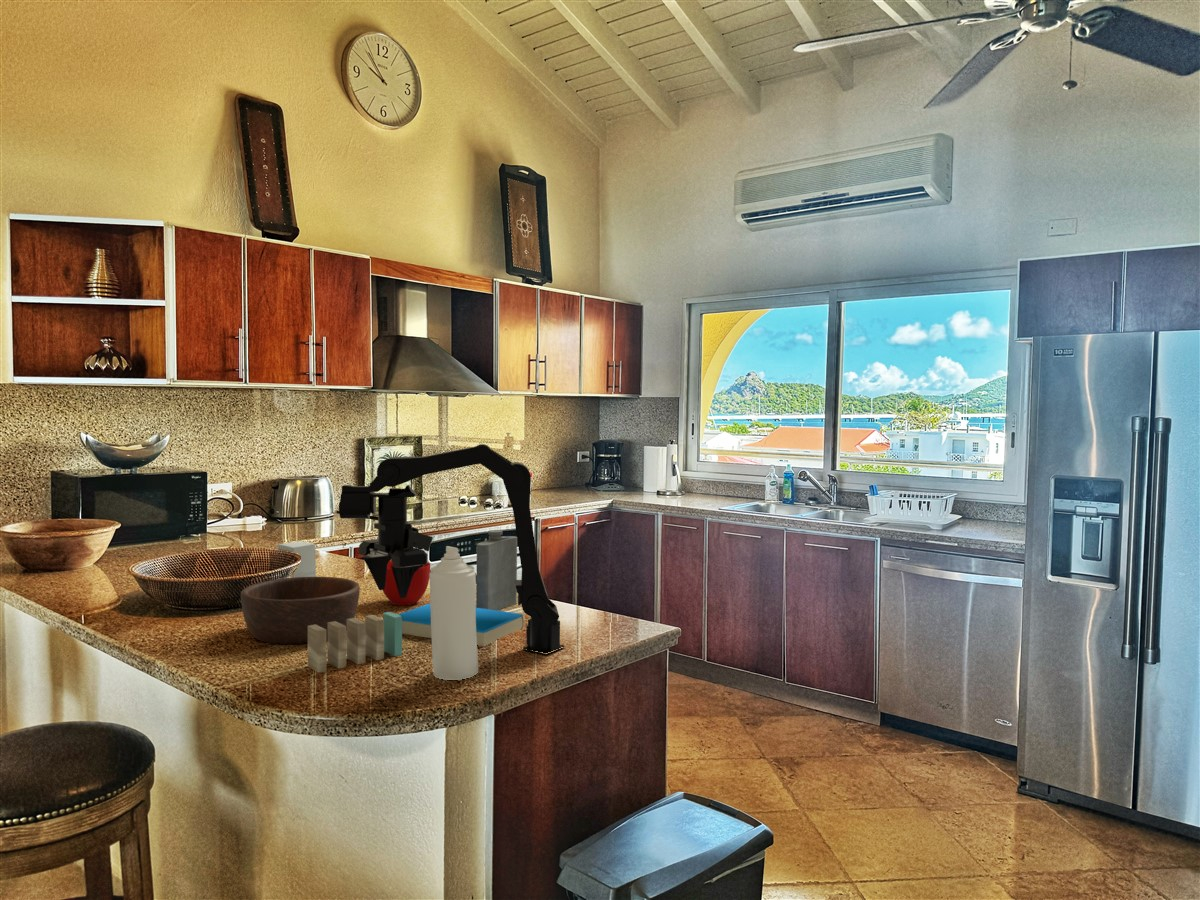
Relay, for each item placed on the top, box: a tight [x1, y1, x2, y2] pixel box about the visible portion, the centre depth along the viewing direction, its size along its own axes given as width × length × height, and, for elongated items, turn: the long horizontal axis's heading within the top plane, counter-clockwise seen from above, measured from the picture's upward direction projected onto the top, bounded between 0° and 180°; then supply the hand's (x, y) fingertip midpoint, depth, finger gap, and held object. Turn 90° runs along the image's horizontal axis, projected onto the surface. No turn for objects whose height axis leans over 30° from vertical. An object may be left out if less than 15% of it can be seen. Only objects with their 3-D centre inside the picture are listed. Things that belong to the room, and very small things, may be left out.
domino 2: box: [327, 621, 347, 669], centre depth 159 cm, size 2×5×8 cm, turn 42°
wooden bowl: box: [240, 576, 361, 645], centre depth 182 cm, size 25×25×10 cm
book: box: [397, 603, 524, 647], centre depth 185 cm, size 17×4×25 cm
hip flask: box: [476, 529, 518, 611], centre depth 205 cm, size 16×4×20 cm, turn 154°
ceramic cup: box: [382, 560, 431, 606], centre depth 213 cm, size 13×17×10 cm
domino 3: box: [346, 617, 366, 665], centre depth 162 cm, size 2×5×8 cm, turn 42°
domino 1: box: [307, 624, 327, 673], centre depth 157 cm, size 2×5×8 cm, turn 42°
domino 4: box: [364, 614, 385, 661], centre depth 165 cm, size 2×5×8 cm, turn 42°
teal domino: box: [382, 611, 403, 657], centre depth 167 cm, size 2×5×8 cm, turn 43°
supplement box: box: [277, 540, 317, 578], centre depth 225 cm, size 7×7×13 cm
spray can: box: [429, 545, 479, 681], centre depth 153 cm, size 12×11×25 cm
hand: (392, 593), depth 167 cm, fingers open, 9 cm apart
